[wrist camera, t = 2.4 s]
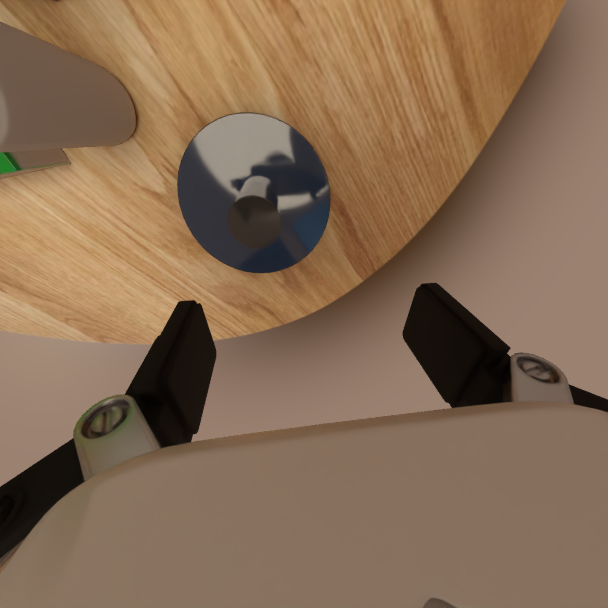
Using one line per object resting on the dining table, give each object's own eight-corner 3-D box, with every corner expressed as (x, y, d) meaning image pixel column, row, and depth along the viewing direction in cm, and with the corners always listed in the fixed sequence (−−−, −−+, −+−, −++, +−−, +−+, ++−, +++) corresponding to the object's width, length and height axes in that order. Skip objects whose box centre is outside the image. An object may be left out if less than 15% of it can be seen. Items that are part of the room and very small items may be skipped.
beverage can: (46, 58, 16) (-311, -66, 6) (123, 61, 16) (-95, -49, 7) (84, 145, 19) (-118, 155, 9) (149, 145, 19) (24, 155, 9)
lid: (326, 105, 19) (346, 95, 14) (329, 260, 27) (342, 288, 22) (153, 121, 18) (110, 116, 13) (209, 275, 26) (195, 307, 21)
